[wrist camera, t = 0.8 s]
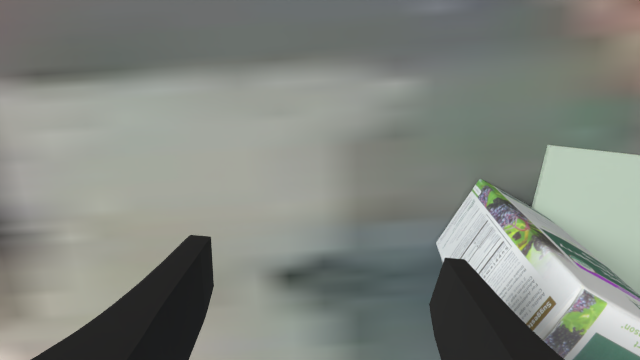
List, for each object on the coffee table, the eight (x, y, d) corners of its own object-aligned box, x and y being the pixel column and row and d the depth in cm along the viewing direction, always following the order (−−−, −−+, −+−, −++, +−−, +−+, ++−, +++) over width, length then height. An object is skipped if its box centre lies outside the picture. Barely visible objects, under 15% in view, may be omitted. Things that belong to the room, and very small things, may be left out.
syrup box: (551, 216, 27) (742, 365, 13) (500, 282, 28) (621, 478, 15) (478, 176, 27) (591, 282, 13) (431, 245, 28) (486, 404, 15)
